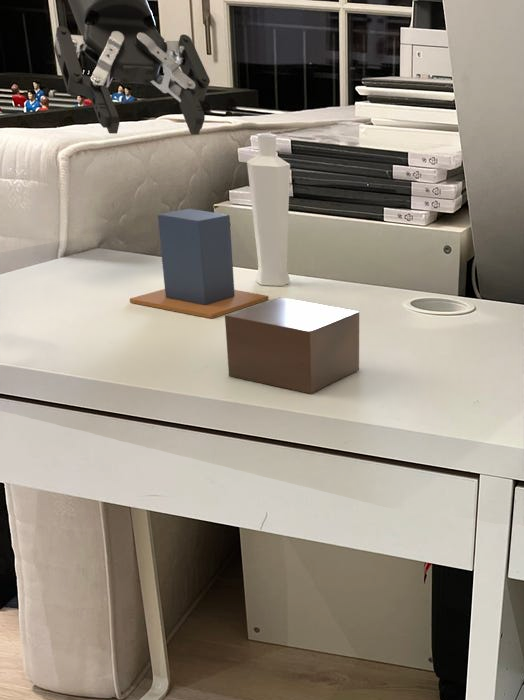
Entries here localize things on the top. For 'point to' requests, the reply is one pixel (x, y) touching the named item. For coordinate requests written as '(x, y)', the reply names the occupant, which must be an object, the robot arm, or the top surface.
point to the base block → (292, 344)
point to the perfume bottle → (270, 211)
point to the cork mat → (207, 311)
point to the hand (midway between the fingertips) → (157, 128)
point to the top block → (196, 256)
